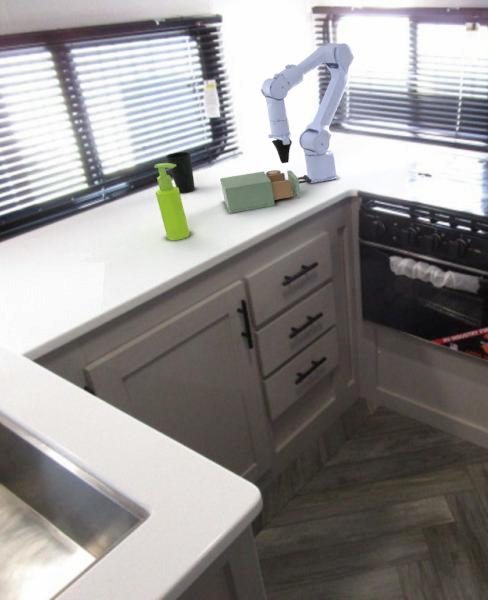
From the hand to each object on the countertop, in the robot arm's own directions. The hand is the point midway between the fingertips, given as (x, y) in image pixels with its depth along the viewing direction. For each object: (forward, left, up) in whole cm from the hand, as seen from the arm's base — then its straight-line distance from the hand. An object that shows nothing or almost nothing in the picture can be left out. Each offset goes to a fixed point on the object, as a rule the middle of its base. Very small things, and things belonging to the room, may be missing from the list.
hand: (284, 162), depth 185 cm
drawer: (+3, +9, -7) cm, 12 cm away
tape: (+3, -10, -8) cm, 13 cm away
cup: (+32, -16, -9) cm, 36 cm away
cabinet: (+15, +9, -8) cm, 19 cm away
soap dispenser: (+37, +26, -9) cm, 46 cm away
